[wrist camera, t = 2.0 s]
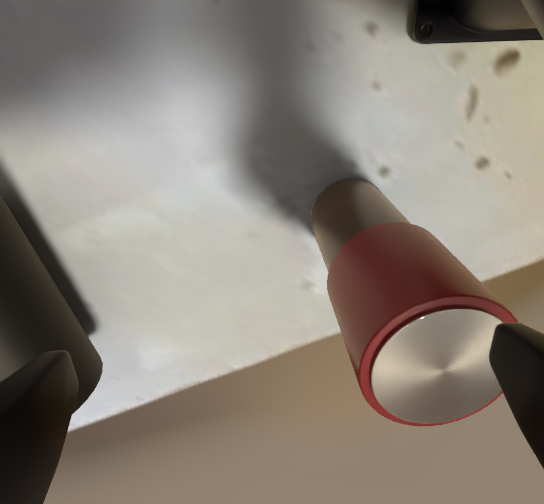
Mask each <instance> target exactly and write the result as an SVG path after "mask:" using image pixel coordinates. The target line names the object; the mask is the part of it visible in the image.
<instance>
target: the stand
mask: <svg viewBox="0 0 544 504" xmlns="http://www.w3.org/2000/svg"><path fill="white" fill-rule="evenodd" d="M390 222H403V223H410V222H409V221H408V220H407V219H406V218H405V217H404V216H403V215H402V214H401V213H400V212H399V211H398V209H397V208H396V207H395V206H394V205H393V204H392V203H391V202H390V201H389V200H388V199H387V198H386V197H385V196H384V195H383V194H382V192H381V191H380V190H379V189H378V188H377V187H375V186H374V185H373V184H371V183H369V182H367V181H364V180H359V179H347V180H342V181H339V182H336V183H334V184H332V185H330V186H329V187H328V188H326V189H325V190H324V191H323V192H322V193H321V194H320V195H319V196H318V198H317V199H316V201H315V203H314V205H313V208H312V212H311V226H312V229H313V232H314V235H315V237H316V240H317V243H318V245H319V248H320V251H321V254H322V256H323V259H324V262H325V264H326V267H327V270H328V272H329V269H330V266H331V263H332V261H333V259H334V257H335V256H336V254H337V253H338V251H339V250H340V249H341V247H342V246H343V245H344V244H345V243H346V242H347V241H348V240H350V239H351V238H352V237H353V236H355V235H356V234H358V233H359V232H361V231H363V230H365V229H367V228H369V227H372V226H375V225H379V224H383V223H390ZM410 224H411V223H410Z"/></svg>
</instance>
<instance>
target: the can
mask: <svg viewBox="0 0 544 504" xmlns="http://www.w3.org/2000/svg"><path fill="white" fill-rule="evenodd" d="M327 289H328V294H329V297H330V300H331V303H332V306H333V309H334V312H335V315H336V318H337V321H338V324H339V327H340V330H341V333H342V336H343V339H344V341H345V345H346V347H347V350H348V353H349V356H350V359H351V362H352V365H353V368H354V371H355V374H356V377H357V380H358V382H359V386H360V389H361V391H362V394H363V396H364V397H365V399H366V401H367V402H368V403H369V404H370V406H371V407H372V408H373V409H374V410H376V411H377V412H378V413H379V414H381V415H382V416H384V417H386V418H388V419H390V420H392V421H395V422H398V423H401V424H406V425H411V426H434V425H442V424H446V423H451V422H454V421H458V420H461V419H463V418H466V417H468V416H470V415H473V414H474V413H476V412H478V411H480V410H482V409H483V408H485V407H487V406H488V405H489V404H491V403H492V402H493V401H495V400H496V399H497V398H498V397H499V396H500V395H501V394H502V393H503V391H502V389H501V387H500V385H499V383H498V380H497V378H496V376H495V374H494V372H493V370H492V368H491V365H490V362H489V351H490V347H491V343H492V339H493V335H494V331H495V328H496V326H497V325H498V324H500V323H513V322H517V323H518V321H517V319H516V318H515V317H514V316H513V315H512V313H511V312H510V311H509V310H508V309H507V308H506V307H505V306H504V305H503V304H502V303H501V302H500V301H499V300H498V299H497V298H496V297H495V296H494V295H493V294H492V293H491V292H490V291H489V290H488V289H487V288H486V287H485V286H484V285H483V284H482V283H481V282H480V281H479V280H478V279H477V278H476V277H475V276H474V275H473V274H472V273H471V272H470V271H469V270H468V269H467V268H466V267H465V266H464V265H463V264H462V263H461V262H460V261H459V260H458V259H457V258H456V257H455V256H454V255H453V254H452V253H451V252H450V251H449V250H448V249H447V248H446V247H445V246H444V245H443V244H442V243H441V242H440V241H439V240H438V239H437V238H436V237H435V236H433V235H432V234H431V233H430V232H428V231H427V230H425V229H424V228H421V227H419V226H417V225H413V224H410V223H403V222H390V223H383V224H379V225H375V226H372V227H369V228H367V229H365V230H363V231H361V232H359V233H358V234H356V235H355V236H353V237H352V238H351V239H350V240H348V241H347V242H346V243H345V244H344V245H343V246H342V247H341V249H340V250H339V251H338V253H337V254H336V256H335V257H334V259H333V261H332V263H331V266H330V269H329V273H328V279H327Z"/></svg>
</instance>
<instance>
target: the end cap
mask: <svg viewBox="0 0 544 504" xmlns="http://www.w3.org/2000/svg"><path fill="white" fill-rule="evenodd" d="M60 350H65V351H67V352H68V353H69V354H70V357H71V360H72V363H73V366H74V369H75V372H76V376H77V379H78V393H77V397H76V401H75V404H74V408H73V412H72V414H73V413H74V412H75V411H76V410H77V409H79V407H80V406H81V405H82V404H83V403H84V402H85V401H86V400H87V399H88V398H89V396H90V395H91V394H92V392H93V391H94V389H95V388H96V386H97V384H98V382H99V380H100V377H101V374H102V366H103V363H102V361H101V358H100V356H99V354H98V352H97V351H96V349H95V348H94V346H93V344H92V343H91V341H90V340H89V338H88V336H87V335H86V333H85V331H84V330H83V328H82V327H81V325H80V323H79V322H78V320H77V318H76V317H75V315H74V314H73V312H72V310H71V309H70V307H69V305H68V304H67V302H66V301H65V299H64V297H63V296H62V294H61V292H60V291H59V289H58V288H57V286H56V284H55V283H54V281H53V280H52V278H51V276H50V275H49V273H48V271H47V270H46V268H45V267H44V265H43V263H42V262H41V260H40V258H39V257H38V255H37V254H36V252H35V250H34V249H33V247H32V245H31V244H30V242H29V241H28V239H27V237H26V236H25V234H24V232H23V231H22V229H21V228H20V226H19V224H18V223H17V221H16V220H15V218H14V216H13V215H12V213H11V211H10V210H9V208H8V207H7V205H6V203H5V202H4V200H3V198H2V197H1V195H0V382H1V381H3V380H4V379H6V378H7V377H9V376H10V375H12V374H13V373H15V372H16V371H18V370H19V369H21V368H22V367H23V366H25V365H26V364H28V363H29V362H31V361H32V360H34V359H35V358H37V357H38V356H40V355H41V354H43V353H44V352H47V351H60Z"/></svg>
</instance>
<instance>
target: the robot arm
mask: <svg viewBox="0 0 544 504" xmlns="http://www.w3.org/2000/svg"><path fill="white" fill-rule="evenodd" d="M424 24H426V25H427V26H428V27H429V32H428V34H427V35H426V36H425V37H423V36H422V35H421V28H422V26H423V25H424ZM412 37H413V40H414V41H415V42H417V43H420V44H431V43H460V42H489V41H518V40H544V0H415V1H414V11H413V21H412ZM489 362H490V365H491V368H492V370H493V372H494V374H495V376H496V378H497V380H498V383H499V385H500V387H501V389H502V391H503V393H504V396H505V398H506V400H507V402H508V404H509V406H510V408H511V410H512V413H513V414H514V417H515V419H516V421H517V423H518V425H519V427H520V429H521V431H522V433H523V435H524V436H525V438H526V440H527V442H528V443H529V445H530V447H531V448H532V450H533V452H534V453H535V455H536V457H537V458H538V460H539V462H540V464H541V465H542V467H543V469H544V334H543V333H540V332H538V331H536V330H534V329H532V328H529V327H527V326H525V325H523V324H521V323H517V322H513V323H500V324H498V325H497V326H496V328H495V331H494V335H493V339H492V343H491V347H490V351H489ZM77 393H78V379H77V376H76V372H75V369H74V366H73V363H72V360H71V357H70V354H69V353H68V352H67V351H65V350H60V351H47V352H44V353H43V354H41V355H40V356H38V357H37V358H35V359H34V360H32V361H31V362H29V363H28V364H26V365H25V366H23V367H22V368H21V369H19V370H18V371H16V372H15V373H13V374H12V375H10V376H9V377H7V378H6V379H4V380H3V381H1V382H0V504H43V502H44V499H45V497H46V494H47V492H48V489H49V487H50V484H51V481H52V479H53V476H54V473H55V470H56V468H57V465H58V463H59V459H60V456H61V452H62V449H63V445H64V441H65V438H66V434H67V430H68V427H69V423H70V419H71V416H72V412H73V408H74V404H75V401H76V397H77Z"/></svg>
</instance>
